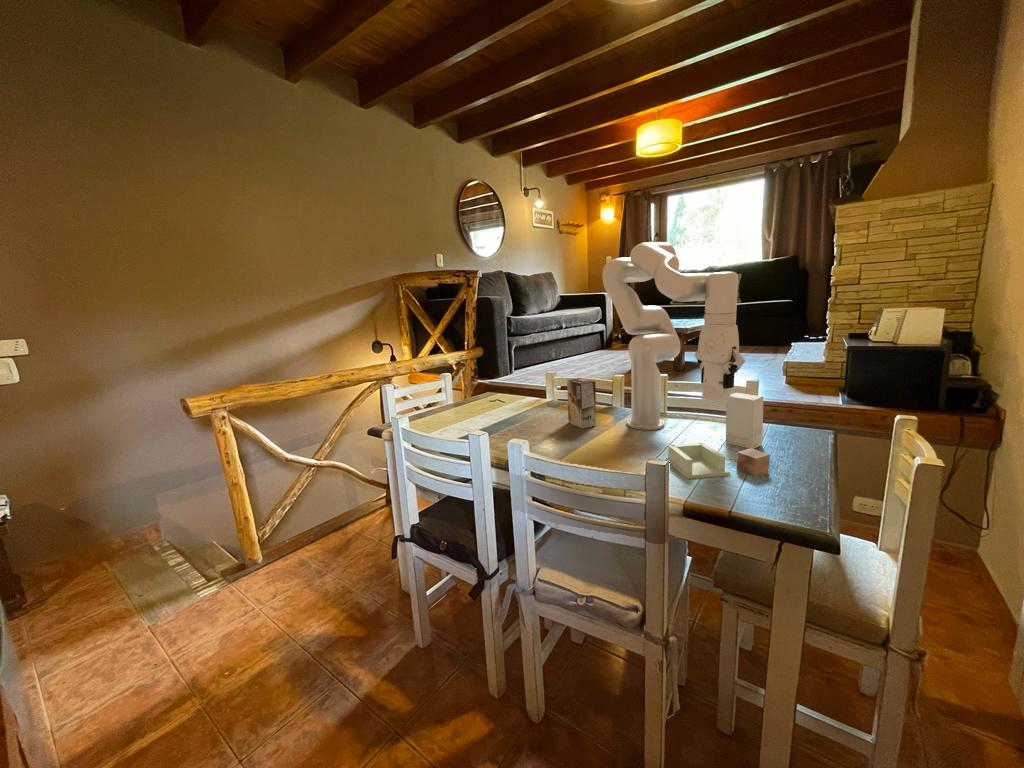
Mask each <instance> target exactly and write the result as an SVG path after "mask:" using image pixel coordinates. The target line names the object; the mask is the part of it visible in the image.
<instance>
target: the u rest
mask: <svg viewBox="0 0 1024 768" xmlns="http://www.w3.org/2000/svg"><path fill="white" fill-rule="evenodd" d="M666 460H669V461H670V463H669V465H671V466H672V467H673V468H674V469H676V471H678V472H679V473H680V474H681V475H682V476H684V478H686V479H699V478H700V479H701V478H710V477H711V478H712V477H713V478H714V477H722V476H723V477H725V476H730V475H731V472H730V471H729V470H728V469H726V456H725V455H723V454H722V453H721V452H719V451H717V450H715V449H714V448H712V446H709V445H708V444H706V443H705V442H693V443H682V444H681V443H680V444H671V445H670V444H669V445H668V446H667V456H666V458H665V461H666Z"/></svg>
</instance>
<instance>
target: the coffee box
mask: <svg viewBox="0 0 1024 768" xmlns="http://www.w3.org/2000/svg"><path fill="white" fill-rule="evenodd" d="M566 385H567V386H566V388H567V389H566V390H567V416H568V418H567V419H568V422H567V423H568V424H570V423H571V425H573V426H575V427H578V428H580V429H582V430H583V429H589V428H592V426H593V427H595V426H597V407H596V405H597V402H596V401H597V400H596V398H597V397H596V394H597V393H596V392H597V390H596V381H593V380H590V379H586V378H582V377H577V378H572V379H567V380H566Z"/></svg>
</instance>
